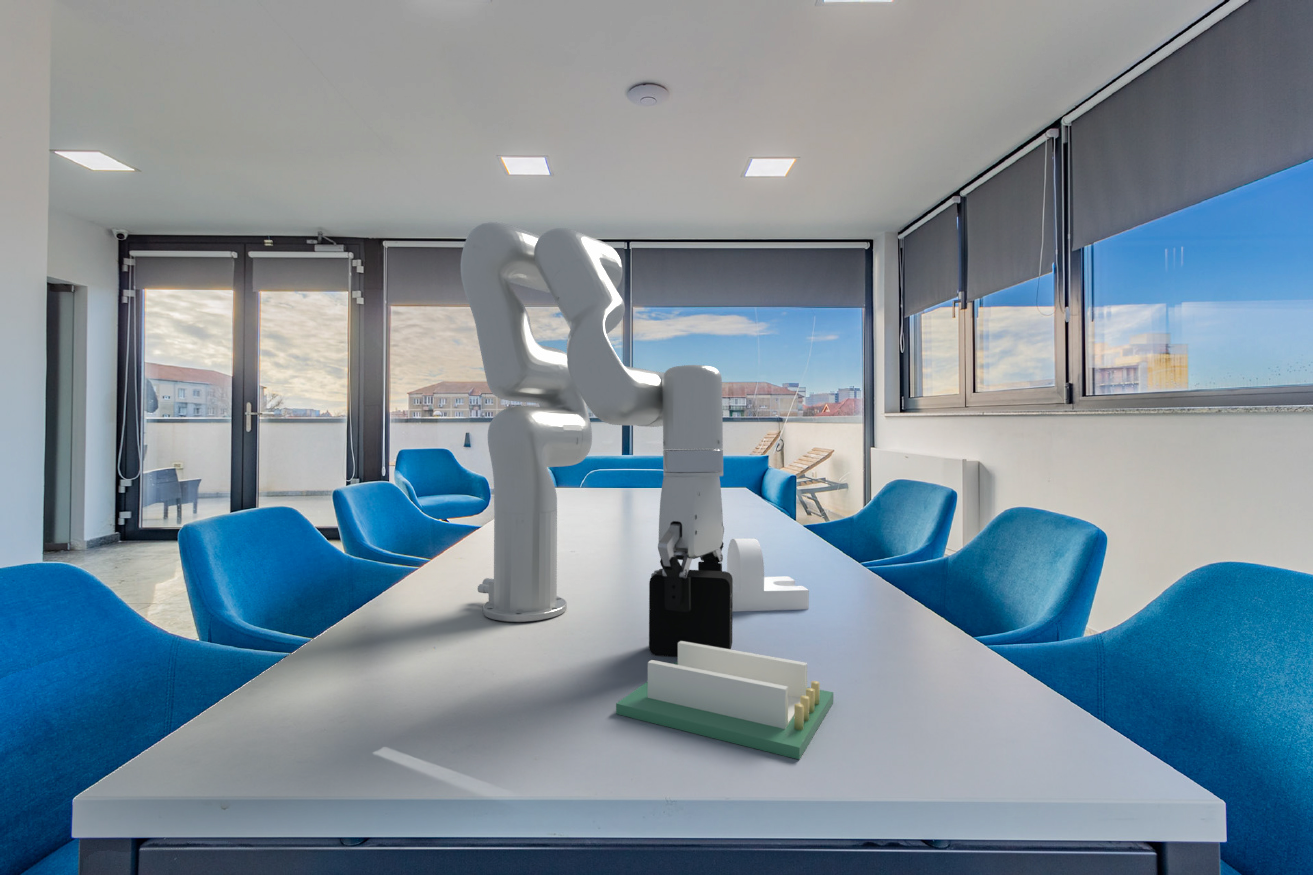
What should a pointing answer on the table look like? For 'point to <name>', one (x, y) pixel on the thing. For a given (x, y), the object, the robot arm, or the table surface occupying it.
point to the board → (732, 698)
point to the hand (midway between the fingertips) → (694, 601)
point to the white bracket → (760, 581)
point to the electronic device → (692, 613)
